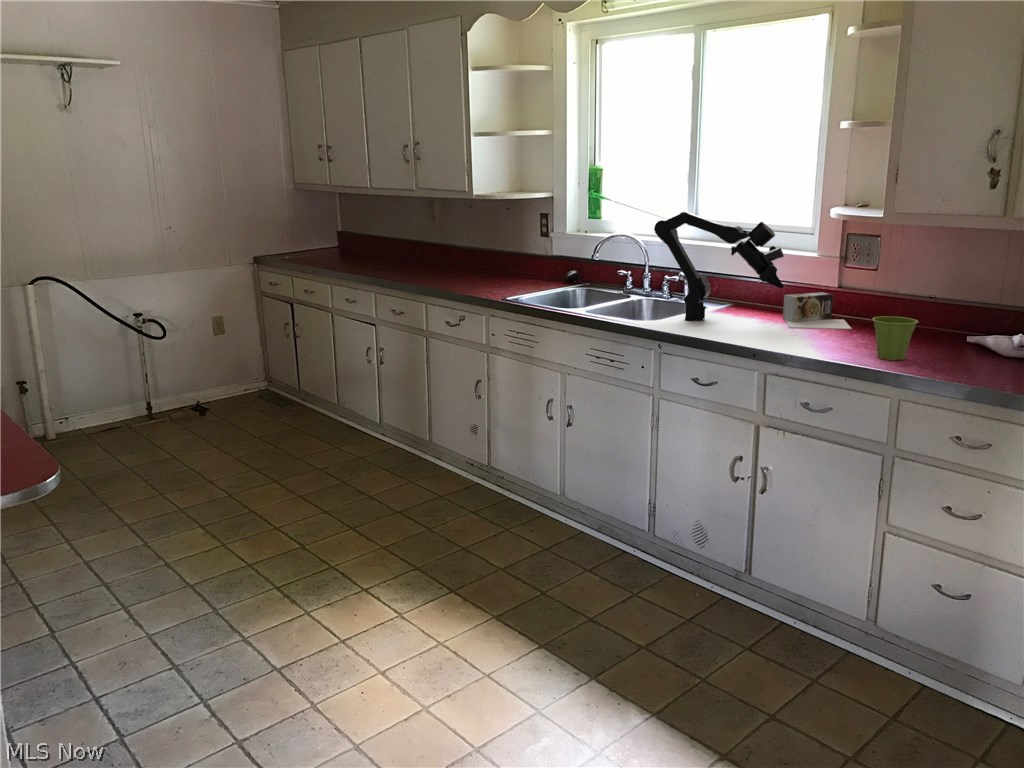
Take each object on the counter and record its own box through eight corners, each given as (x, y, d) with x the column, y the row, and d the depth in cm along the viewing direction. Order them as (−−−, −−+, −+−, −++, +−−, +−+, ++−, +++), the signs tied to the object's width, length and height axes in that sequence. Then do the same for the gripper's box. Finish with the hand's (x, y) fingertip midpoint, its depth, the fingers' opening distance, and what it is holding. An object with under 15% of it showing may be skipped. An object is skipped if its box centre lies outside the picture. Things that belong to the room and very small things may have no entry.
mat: (789, 328, 278) (789, 327, 278) (784, 319, 294) (785, 318, 293) (851, 329, 274) (851, 328, 274) (843, 320, 289) (843, 319, 289)
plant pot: (917, 363, 227) (922, 324, 224) (871, 362, 230) (875, 322, 227) (909, 354, 238) (914, 316, 235) (866, 352, 241) (869, 315, 238)
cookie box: (794, 297, 284) (833, 293, 288) (783, 294, 290) (822, 291, 294) (793, 322, 286) (832, 319, 290) (782, 320, 292) (820, 316, 296)
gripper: (772, 241, 271) (804, 275, 272) (768, 236, 289) (798, 268, 289) (746, 264, 275) (778, 298, 276) (743, 258, 293) (773, 289, 293)
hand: (782, 287), depth 283 cm, fingers closed
